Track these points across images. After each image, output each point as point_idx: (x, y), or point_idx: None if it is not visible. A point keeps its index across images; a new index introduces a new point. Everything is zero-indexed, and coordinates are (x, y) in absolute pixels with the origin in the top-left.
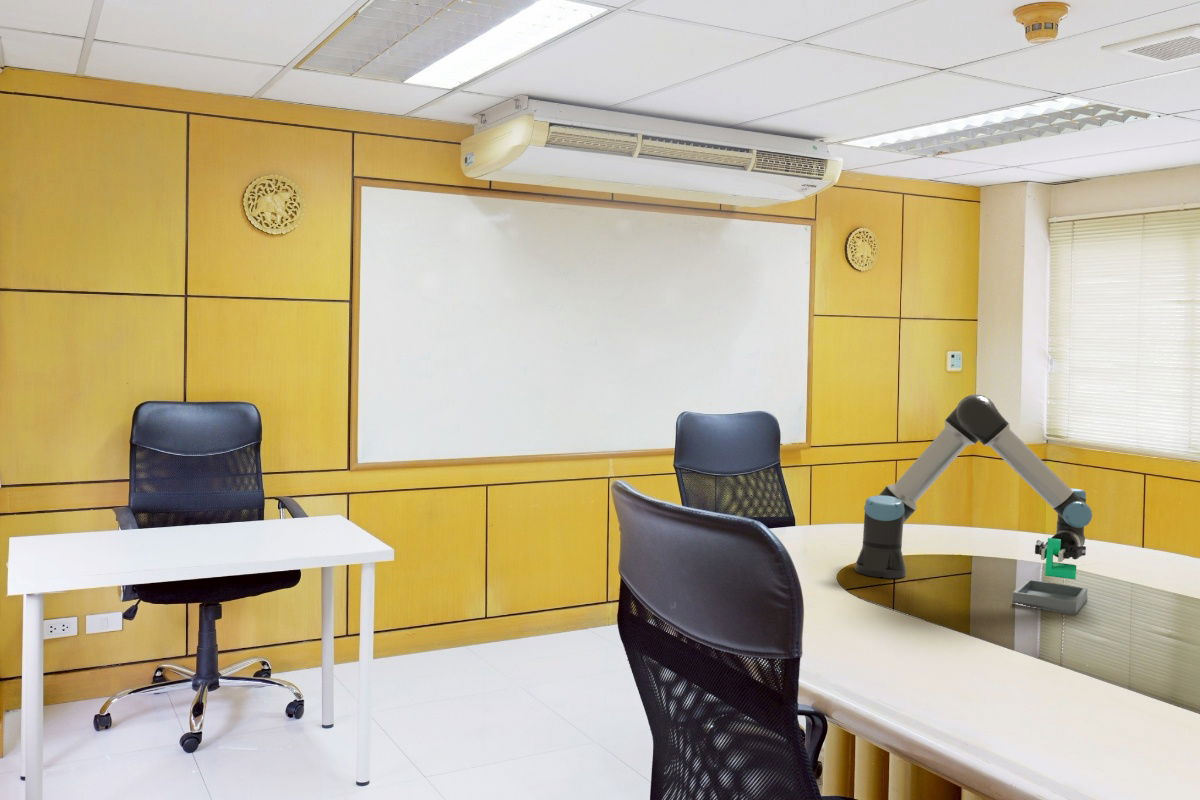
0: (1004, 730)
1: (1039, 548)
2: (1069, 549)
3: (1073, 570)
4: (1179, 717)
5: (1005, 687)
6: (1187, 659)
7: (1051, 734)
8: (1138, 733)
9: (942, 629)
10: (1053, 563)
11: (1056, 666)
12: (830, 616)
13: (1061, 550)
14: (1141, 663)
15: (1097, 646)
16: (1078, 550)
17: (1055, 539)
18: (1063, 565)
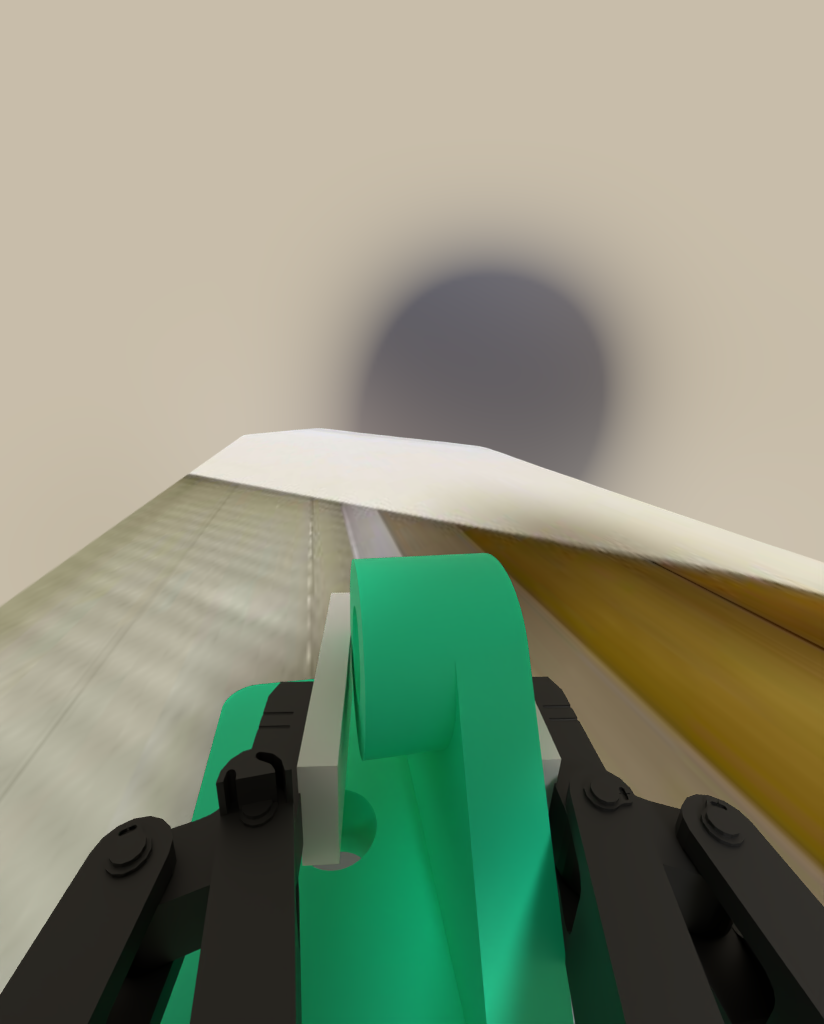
0: (344, 441)
1: (646, 809)
2: (234, 784)
3: (234, 741)
4: (208, 466)
5: (358, 463)
6: (55, 571)
7: (316, 443)
8: (255, 451)
9: (499, 524)
10: (449, 1004)
11: (316, 495)
12: (638, 508)
13: (338, 657)
14: (183, 531)
15: (242, 558)
16: (12, 989)
17: (410, 558)
18: (314, 952)
